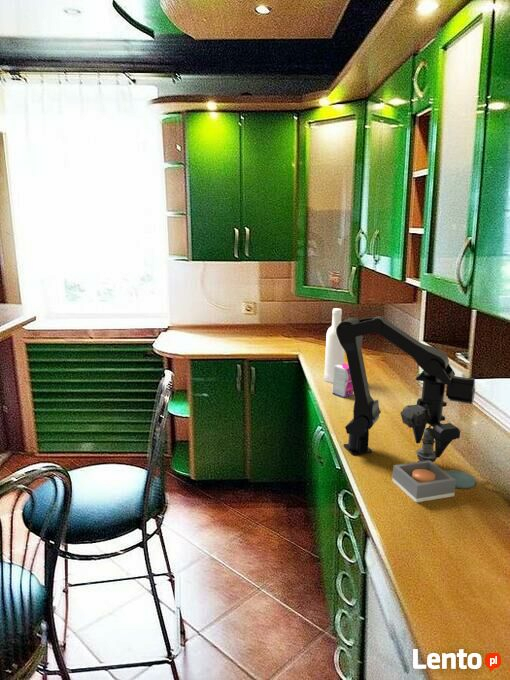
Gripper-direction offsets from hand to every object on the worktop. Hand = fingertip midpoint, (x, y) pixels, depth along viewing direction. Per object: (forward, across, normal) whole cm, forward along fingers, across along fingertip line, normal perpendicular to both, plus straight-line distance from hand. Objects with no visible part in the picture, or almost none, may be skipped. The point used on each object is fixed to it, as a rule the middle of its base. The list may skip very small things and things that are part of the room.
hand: (427, 450), depth 150 cm
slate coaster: (+4, +10, +3) cm, 11 cm away
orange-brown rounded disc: (+2, +11, -9) cm, 14 cm away
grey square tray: (+4, +11, -8) cm, 15 cm away
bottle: (+5, -76, +7) cm, 76 cm away
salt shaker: (+5, 0, 0) cm, 5 cm away
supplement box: (+5, -59, +3) cm, 59 cm away
